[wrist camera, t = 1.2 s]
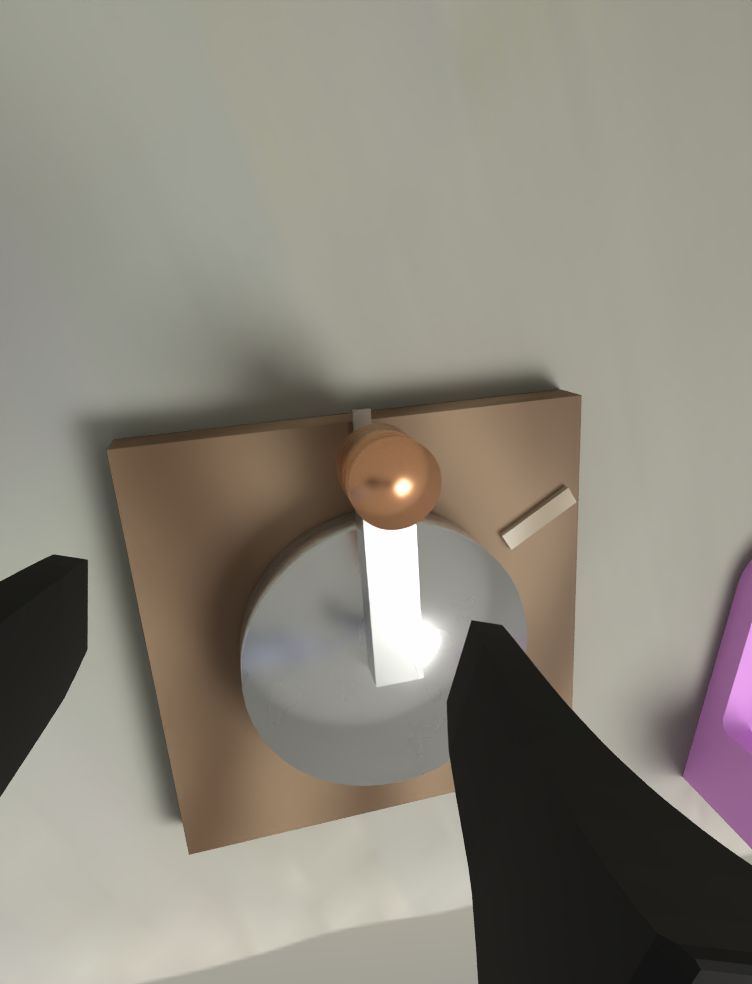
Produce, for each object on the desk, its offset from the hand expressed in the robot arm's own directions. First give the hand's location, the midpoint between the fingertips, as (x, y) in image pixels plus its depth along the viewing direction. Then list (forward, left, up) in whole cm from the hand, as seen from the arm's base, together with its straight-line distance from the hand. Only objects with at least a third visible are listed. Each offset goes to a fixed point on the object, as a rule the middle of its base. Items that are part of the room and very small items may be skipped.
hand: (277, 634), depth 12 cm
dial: (+4, -5, -9) cm, 11 cm away
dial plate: (+4, -6, -11) cm, 13 cm away
